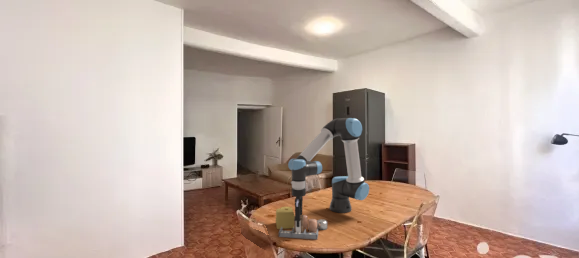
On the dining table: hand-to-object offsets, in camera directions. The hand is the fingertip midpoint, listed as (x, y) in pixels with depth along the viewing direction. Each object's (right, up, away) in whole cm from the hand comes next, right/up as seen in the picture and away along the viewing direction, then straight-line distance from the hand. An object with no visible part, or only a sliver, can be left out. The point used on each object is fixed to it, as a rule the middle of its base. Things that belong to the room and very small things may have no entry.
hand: (298, 230), depth 145 cm
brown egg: (+3, -2, +11) cm, 12 cm away
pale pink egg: (+8, -2, +5) cm, 9 cm away
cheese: (-8, -2, +13) cm, 15 cm away
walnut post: (0, 0, 0) cm, 0 cm away
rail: (0, -2, -1) cm, 2 cm away
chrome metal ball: (+14, -2, +9) cm, 16 cm away
